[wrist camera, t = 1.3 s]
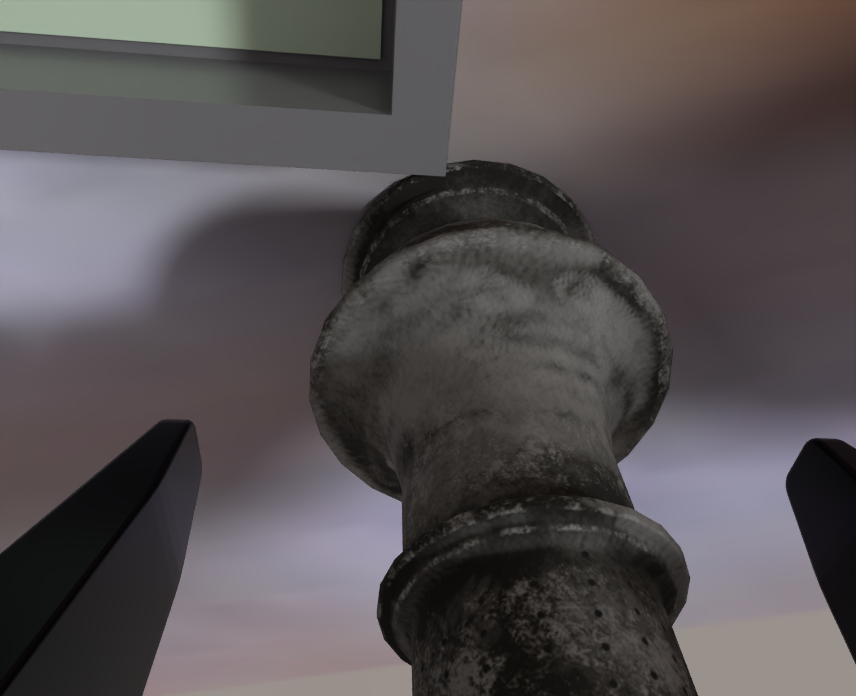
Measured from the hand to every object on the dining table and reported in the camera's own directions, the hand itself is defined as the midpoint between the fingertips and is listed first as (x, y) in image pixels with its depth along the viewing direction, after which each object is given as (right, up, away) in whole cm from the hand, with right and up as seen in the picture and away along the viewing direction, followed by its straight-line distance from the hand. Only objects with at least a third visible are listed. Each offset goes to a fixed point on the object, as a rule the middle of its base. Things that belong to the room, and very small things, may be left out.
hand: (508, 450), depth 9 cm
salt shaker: (0, +3, +4) cm, 5 cm away
